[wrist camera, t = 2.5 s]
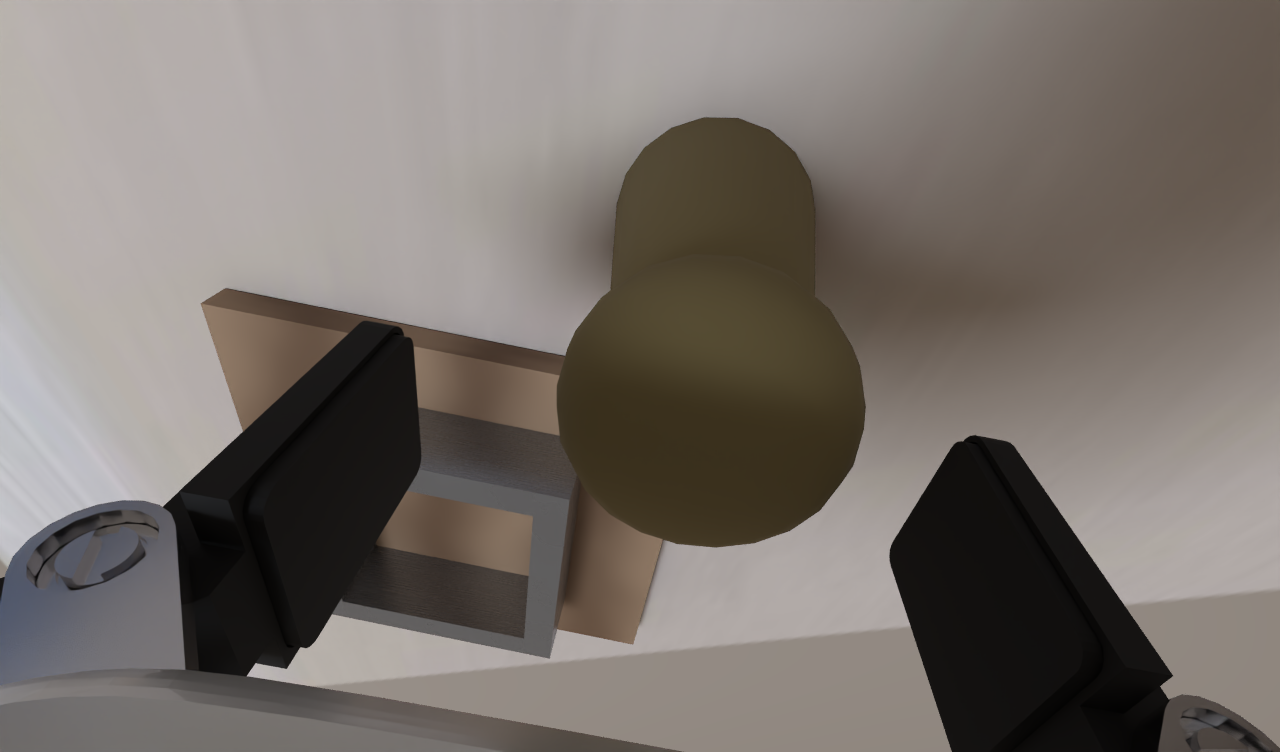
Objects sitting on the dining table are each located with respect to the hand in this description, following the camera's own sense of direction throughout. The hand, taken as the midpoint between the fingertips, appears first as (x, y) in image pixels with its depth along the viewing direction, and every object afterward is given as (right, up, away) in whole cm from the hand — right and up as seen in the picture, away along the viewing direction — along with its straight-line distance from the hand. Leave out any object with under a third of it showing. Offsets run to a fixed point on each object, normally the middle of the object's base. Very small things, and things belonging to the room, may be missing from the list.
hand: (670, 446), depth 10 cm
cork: (+2, +6, +8) cm, 10 cm away
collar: (-9, -4, +15) cm, 17 cm away
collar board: (-8, -4, +16) cm, 18 cm away
